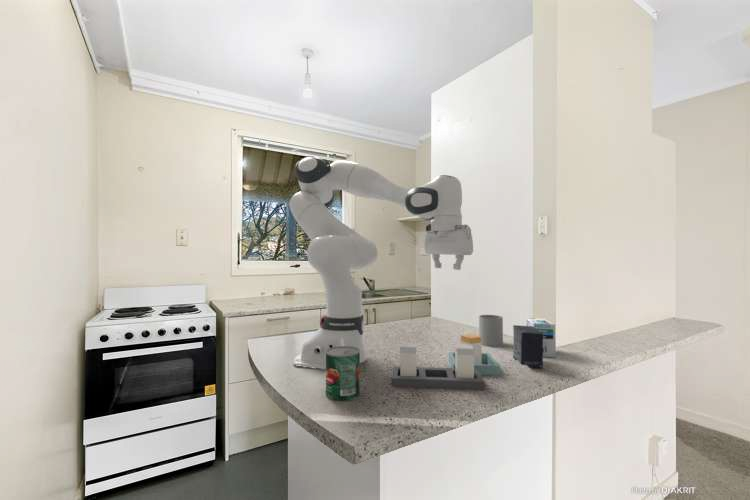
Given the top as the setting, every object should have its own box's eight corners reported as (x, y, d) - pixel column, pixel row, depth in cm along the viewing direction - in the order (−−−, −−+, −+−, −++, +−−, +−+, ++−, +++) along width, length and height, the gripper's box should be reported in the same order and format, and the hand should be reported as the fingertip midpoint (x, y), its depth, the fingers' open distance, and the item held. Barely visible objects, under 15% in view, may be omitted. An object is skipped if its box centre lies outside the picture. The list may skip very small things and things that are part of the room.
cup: (476, 344, 126) (475, 317, 126) (483, 339, 133) (482, 314, 133) (499, 348, 121) (499, 319, 121) (505, 343, 128) (505, 316, 128)
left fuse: (400, 382, 86) (400, 346, 86) (400, 377, 90) (400, 342, 90) (416, 383, 85) (416, 347, 86) (416, 377, 89) (416, 343, 90)
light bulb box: (556, 357, 110) (556, 324, 110) (533, 356, 111) (533, 323, 111) (546, 348, 120) (546, 318, 120) (526, 347, 122) (525, 317, 122)
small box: (544, 369, 99) (544, 332, 99) (520, 368, 100) (520, 332, 100) (533, 358, 109) (533, 325, 109) (512, 357, 110) (512, 324, 111)
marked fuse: (470, 370, 95) (470, 338, 95) (461, 366, 99) (460, 335, 99) (481, 368, 97) (481, 336, 97) (471, 364, 101) (471, 333, 101)
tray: (453, 377, 92) (453, 364, 92) (448, 363, 104) (448, 351, 104) (499, 379, 91) (499, 365, 91) (489, 364, 103) (489, 353, 103)
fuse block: (391, 390, 84) (391, 378, 84) (393, 377, 93) (393, 366, 93) (484, 394, 81) (484, 381, 81) (477, 380, 90) (477, 368, 90)
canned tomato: (318, 399, 79) (318, 351, 79) (342, 388, 85) (342, 344, 85) (343, 409, 74) (342, 357, 74) (367, 397, 80) (366, 349, 80)
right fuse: (457, 385, 84) (457, 348, 84) (455, 379, 88) (455, 344, 88) (474, 385, 84) (473, 348, 84) (471, 379, 88) (471, 344, 88)
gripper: (478, 224, 103) (477, 270, 103) (436, 228, 121) (435, 267, 121) (462, 223, 100) (461, 271, 100) (421, 227, 118) (421, 267, 118)
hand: (447, 268), depth 111 cm, fingers open, 8 cm apart
